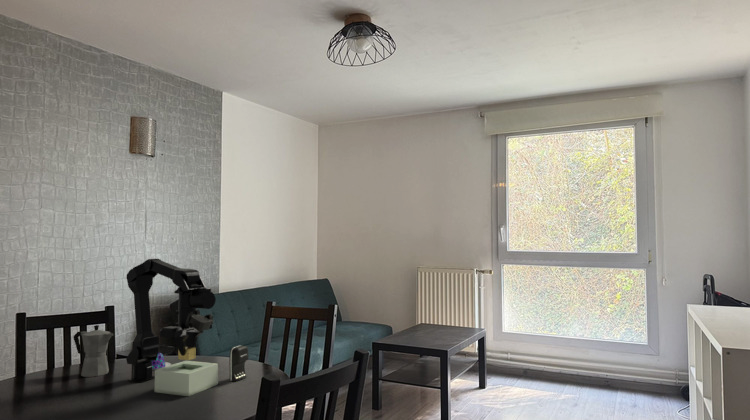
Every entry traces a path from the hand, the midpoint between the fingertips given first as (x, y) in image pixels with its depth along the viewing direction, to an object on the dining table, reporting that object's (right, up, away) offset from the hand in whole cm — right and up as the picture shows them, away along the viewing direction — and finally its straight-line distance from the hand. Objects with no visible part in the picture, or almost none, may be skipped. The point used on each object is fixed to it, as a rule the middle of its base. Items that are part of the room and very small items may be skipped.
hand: (186, 354), depth 167 cm
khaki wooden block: (0, -1, 0) cm, 2 cm away
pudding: (-24, -14, +29) cm, 40 cm away
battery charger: (+15, -12, +10) cm, 22 cm away
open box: (0, -11, -1) cm, 11 cm away
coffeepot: (-43, -13, +19) cm, 48 cm away
